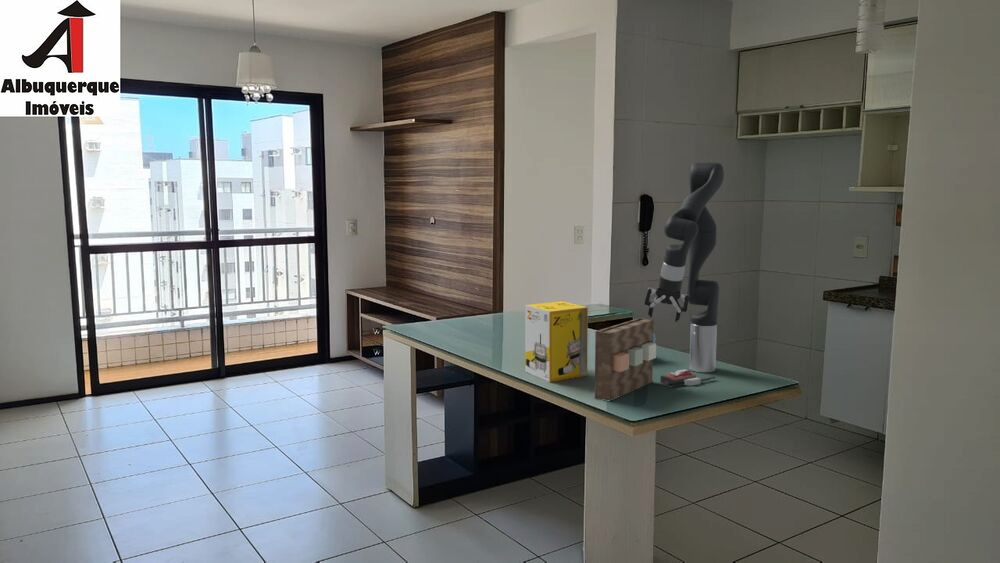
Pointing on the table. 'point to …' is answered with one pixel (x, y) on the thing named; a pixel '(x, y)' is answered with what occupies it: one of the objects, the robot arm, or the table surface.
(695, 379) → the walkie-talkie
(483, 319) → the table surface
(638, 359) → the sage key
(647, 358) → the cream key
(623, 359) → the terracotta key
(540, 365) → the packaging box
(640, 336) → the keypad panel
